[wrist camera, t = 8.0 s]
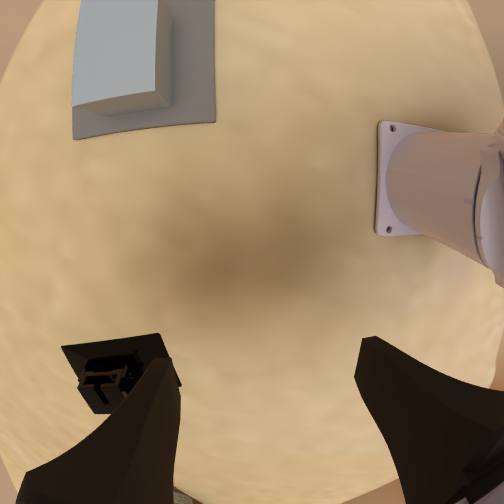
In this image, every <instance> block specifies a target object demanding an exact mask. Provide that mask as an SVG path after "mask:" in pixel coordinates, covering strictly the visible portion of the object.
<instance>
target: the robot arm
mask: <svg viewBox="0 0 504 504" xmlns="http://www.w3.org/2000/svg"><path fill="white" fill-rule="evenodd" d="M390 126H392V127H393V131H392V132H391V130H390ZM388 226H389V227H390V228H389V230H388V231H387V232H386V229H387V227H388ZM375 232H376V234H378V235H379V236H382V237H385V236H405V235H426V236H428V237H430V238H432V239H434V240H436V241H438V242H440V243H442V244H444V245H446V246H448V247H450V248H452V249H454V250H456V251H458V252H460V253H461V254H463V255H465V256H467V257H469V258H471V259H473V260H474V261H476V262H478V263H480V264H482V265H483V266H485V267H487V268H489V269H491V270H492V271H493V273H494V275H495V282H496V284H498V285H499V286H501V287H503V288H504V118H503V120H502V122H501V124H500V125H499V126H498V127H497V129H496V131H495V134H481V133H458V132H447V131H443V130H438V129H433V128H428V127H423V126H417V125H412V124H406V123H400V122H393V121H381V122H380V123H379V125H378V188H377V208H376V223H375ZM354 378H355V381H356V384H357V387H358V389H359V392H360V394H361V397H362V399H363V401H364V403H365V404H366V406H367V408H368V410H369V412H370V414H371V415H372V417H373V419H374V421H375V422H376V424H377V426H378V428H379V430H380V431H381V433H382V435H383V437H384V439H385V441H386V443H387V445H388V448H389V450H390V453H391V456H392V458H393V461H394V464H395V467H396V470H397V473H398V476H399V479H400V482H401V486H402V490H403V494H404V497H405V502H406V504H504V391H498V390H492V389H487V388H483V387H479V386H476V385H472V384H469V383H466V382H463V381H460V380H457V379H455V378H452V377H450V376H447V375H445V374H443V373H441V372H439V371H437V370H435V369H433V368H431V367H429V366H427V365H425V364H423V363H421V362H419V361H418V360H416V359H414V358H413V357H411V356H409V355H407V354H406V353H404V352H402V351H401V350H399V349H398V348H396V347H394V346H393V345H391V344H389V343H388V342H386V341H384V340H382V339H381V338H379V337H377V336H373V337H367V338H362V342H361V347H360V352H359V357H358V361H357V366H356V370H355V375H354ZM180 410H181V396H180V392H179V388H178V384H177V380H176V375H175V371H174V367H173V363H172V358H155V359H154V360H153V361H152V362H151V364H150V365H149V367H148V368H147V370H146V371H145V373H144V374H143V375H142V377H141V378H140V380H139V381H138V382H137V384H136V385H135V386H134V388H133V389H132V390H131V391H130V393H129V394H128V395H127V397H126V398H125V399H124V400H123V401H122V402H121V404H120V405H119V406H118V407H117V408H116V409H115V411H114V412H113V413H112V414H111V415H110V416H109V417H108V418H107V419H106V420H105V421H104V422H103V423H102V424H101V425H100V426H99V427H98V428H97V429H96V430H94V431H93V432H92V433H91V434H90V435H88V436H87V437H86V438H85V439H83V440H82V441H81V442H79V443H78V444H77V445H76V446H74V447H73V448H71V449H70V450H68V451H67V452H65V453H63V454H62V455H60V456H58V457H57V458H55V459H53V460H51V461H50V462H48V463H46V464H43V465H41V466H39V467H37V468H35V469H33V470H30V471H28V472H26V474H25V476H24V479H23V481H22V484H21V487H20V490H19V493H18V496H17V499H16V504H174V497H173V473H174V462H175V455H176V447H177V440H178V433H179V425H180Z"/></svg>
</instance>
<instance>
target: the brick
mask: <svg viewBox="0 0 504 504" xmlns="http://www.w3.org/2000/svg"><path fill="white" fill-rule="evenodd" d="M172 27H173V19H172V16H171V13H170V10H169V7H168V4H167V1H166V0H81V5H80V11H79V17H78V24H77V31H76V40H75V49H74V61H73V76H72V107H75V108H79V109H83V110H86V111H90V112H94V113H97V114H101V115H104V116H113V115H119V114H125V113H131V112H138V111H145V110H152V109H160V108H169V107H172Z"/></svg>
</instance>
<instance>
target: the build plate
mask: <svg viewBox="0 0 504 504" xmlns="http://www.w3.org/2000/svg"><path fill="white" fill-rule="evenodd" d="M61 348H62V350H63V352H64V354H65V356H66V358H67V359H68V361H69V363H70V365H71V367H72V368H73V370H74V372H75V374H76V375H77V377H78V381H79V385H78V387H77V389H78V390H79V392H80V393H81V395H82V396H83V398H84V399H85V401H86V402H87V404H88V405H89V407H90V408H91V410H92V411H93V412H94V414H112V413H113V412H114V411H115V409H116V408H117V407H118V406H119V405H120V404H121V402H122V401H123V400H124V399H125V398H126V397H127V395H128V394H129V393H130V391H131V390H132V389H133V388H134V386H135V385H136V384H137V382H138V381H139V380H140V378H141V377H142V375H143V374H144V373H145V371H146V370H147V368H148V367H149V365H150V364H151V362H152V361H153V360H154V359H155V358H170V357H169V355H168V352H167V350H166V347H165V345H164V342H163V340H162V338H161V335H160V334H159V333H154V334H148V335H141V336H135V337H128V338H121V339H114V340H107V341H99V342H91V343H83V344H75V345H66V346H61ZM173 367H174V366H173ZM174 371H175V369H174ZM175 375H176V380H177V384H178V387H181V386H182V384H181V382H180V380H179V378H178V375H177V373H176V371H175Z"/></svg>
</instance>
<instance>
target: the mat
mask: <svg viewBox="0 0 504 504" xmlns="http://www.w3.org/2000/svg"><path fill="white" fill-rule="evenodd" d="M166 1H167V4H168V7H169V10H170V13H171V16H172V19H173V27H172V107H169V108H160V109H152V110H145V111H138V112H131V113H125V114H119V115H113V116H104V115H101V114H97V113H94V112H90V111H86V110H83V109H79V108H75V107H72V122H73V140H80V139H85V138H90V137H96V136H101V135H107V134H113V133H119V132H125V131H132V130H139V129H147V128H155V127H164V126H174V125H185V124H197V123H213V122H215V84H214V0H166Z"/></svg>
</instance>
